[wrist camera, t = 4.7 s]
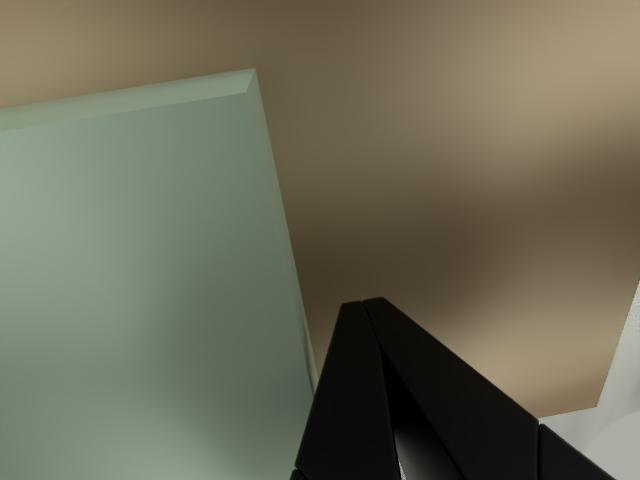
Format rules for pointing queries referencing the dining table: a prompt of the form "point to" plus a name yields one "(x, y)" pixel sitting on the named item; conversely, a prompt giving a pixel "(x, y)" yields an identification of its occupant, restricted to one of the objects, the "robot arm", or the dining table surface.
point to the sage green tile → (148, 289)
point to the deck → (413, 156)
